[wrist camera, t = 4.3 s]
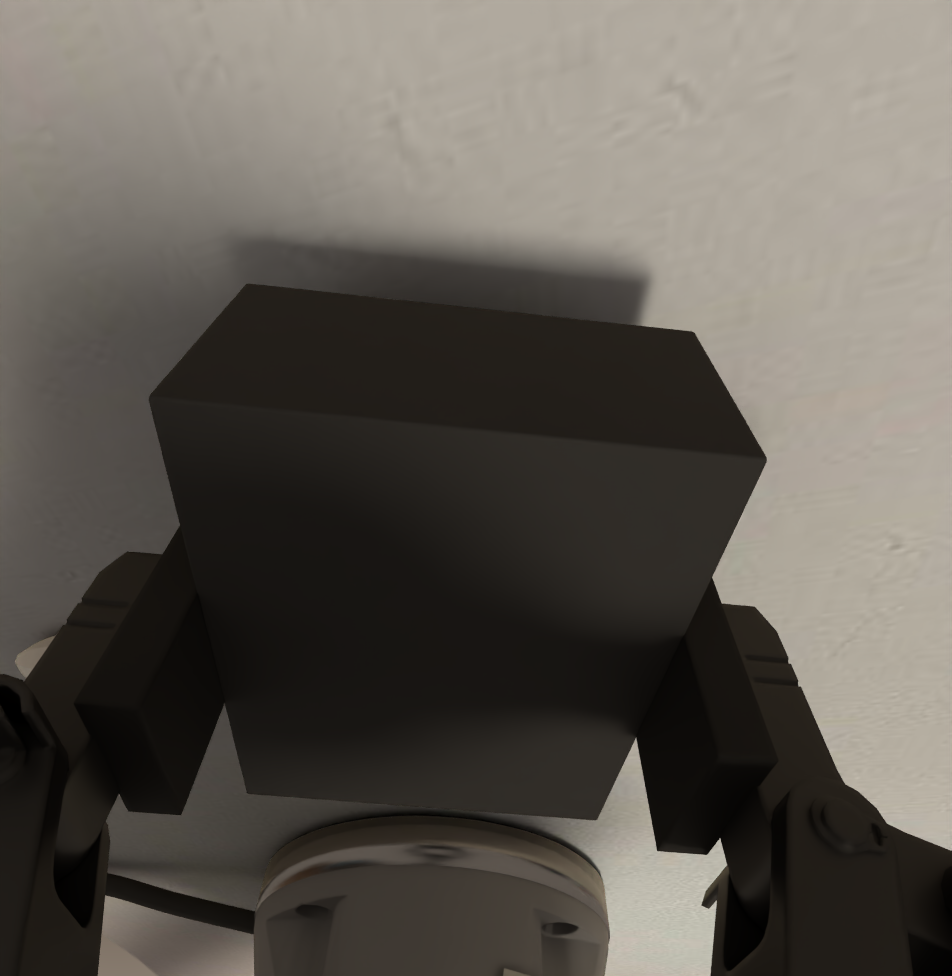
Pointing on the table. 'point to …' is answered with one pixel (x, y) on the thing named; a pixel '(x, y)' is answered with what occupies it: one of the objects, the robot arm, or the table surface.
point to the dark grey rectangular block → (446, 540)
